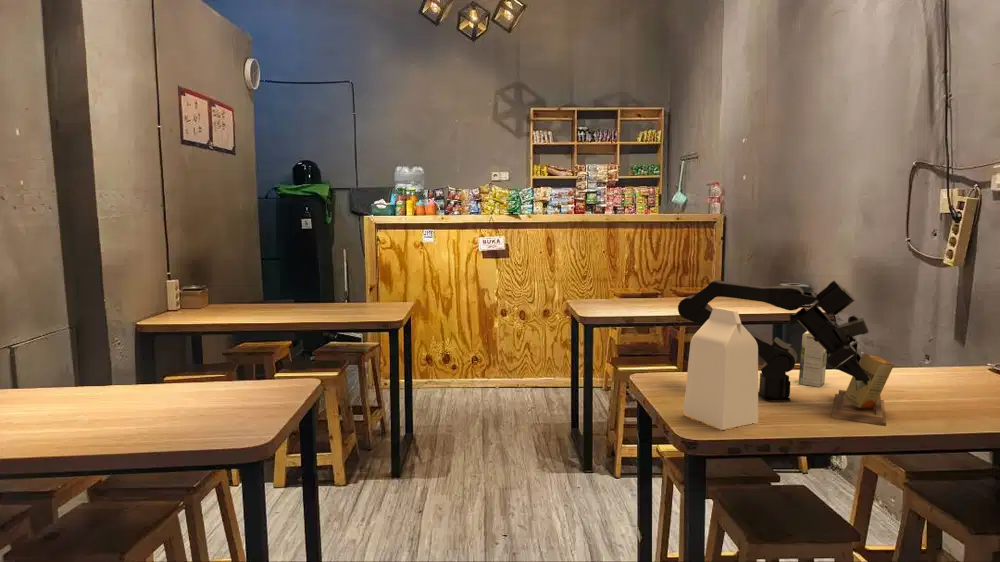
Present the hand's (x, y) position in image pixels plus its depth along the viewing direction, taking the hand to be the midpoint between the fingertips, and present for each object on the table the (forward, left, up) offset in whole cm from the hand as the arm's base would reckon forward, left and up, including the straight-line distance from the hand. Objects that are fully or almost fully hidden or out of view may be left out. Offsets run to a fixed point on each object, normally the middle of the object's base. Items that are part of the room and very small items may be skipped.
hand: (867, 376), depth 160 cm
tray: (-1, +1, -9) cm, 9 cm away
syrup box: (-1, +24, -9) cm, 25 cm away
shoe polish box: (-1, +1, -7) cm, 7 cm away
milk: (-38, -5, -9) cm, 39 cm away
